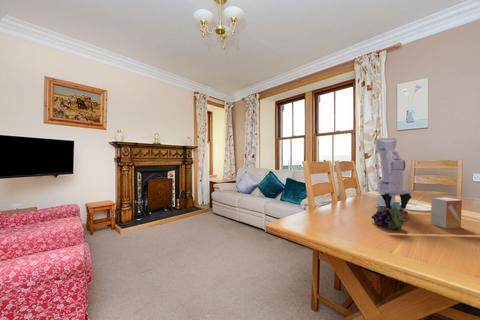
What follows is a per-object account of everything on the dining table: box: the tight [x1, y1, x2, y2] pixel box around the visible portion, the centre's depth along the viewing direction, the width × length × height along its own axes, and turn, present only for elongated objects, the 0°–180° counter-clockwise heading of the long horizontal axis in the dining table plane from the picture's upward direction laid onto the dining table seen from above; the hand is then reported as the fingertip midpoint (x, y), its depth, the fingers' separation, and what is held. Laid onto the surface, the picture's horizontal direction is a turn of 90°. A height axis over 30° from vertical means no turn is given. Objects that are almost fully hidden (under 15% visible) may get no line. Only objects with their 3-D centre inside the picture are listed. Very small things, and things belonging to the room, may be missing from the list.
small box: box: [430, 196, 463, 229], centre depth 91 cm, size 8×6×13 cm
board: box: [376, 204, 405, 213], centre depth 102 cm, size 18×13×5 cm
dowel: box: [392, 201, 401, 211], centre depth 106 cm, size 3×3×6 cm
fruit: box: [371, 207, 408, 230], centre depth 90 cm, size 10×10×15 cm
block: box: [385, 208, 409, 219], centre depth 106 cm, size 7×7×3 cm
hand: (395, 208), depth 106 cm, fingers open, 7 cm apart
